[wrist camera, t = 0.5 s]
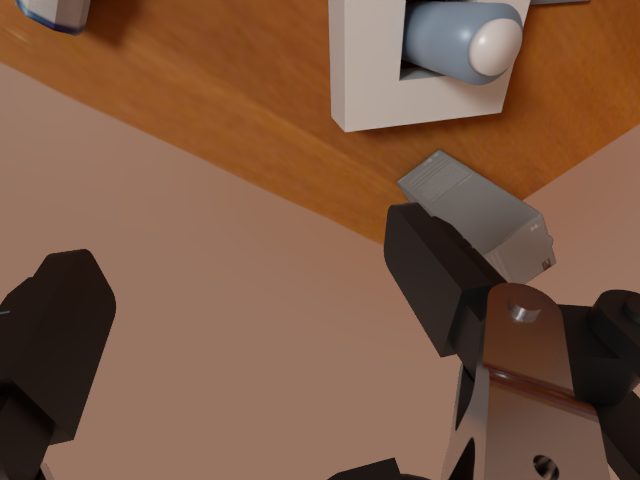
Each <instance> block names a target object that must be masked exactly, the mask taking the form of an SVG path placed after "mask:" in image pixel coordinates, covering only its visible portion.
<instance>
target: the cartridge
mask: <svg viewBox="0 0 640 480" xmlns="http://www.w3.org/2000/svg"><path fill="white" fill-rule="evenodd" d="M522 37H523V24H522V20H521V17H520V15H519V13H518V11H517V10H516V9H515V8H514V7H513V6H511V5H509V4H506V3H484V2H439V1H411V2H408V3H406V4H405V16H404V28H403V40H402V52H401V60H404V61H407V62H410V63H413V64H415V65H418V66H421V67H424V68H427V69H429V70H432V71H435V72H438V73H441V74H443V75H446V76H449V77H452V78H455V79H457V80H460V81H463V82H466V83H469V84H472V85H485V84H488V83H491V82H493V81H495V80H496V79H498V78H499V77H500V76H502V75H503V74H504V73H505V72H506V71H507V69H508V68H509V67H510V66H511V64H512V63H513V62H514V60H515V59H516V57H517V55H518V53H519V51H520V48H521V44H522Z"/></svg>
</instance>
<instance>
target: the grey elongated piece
mask: <svg viewBox="0 0 640 480" xmlns="http://www.w3.org/2000/svg"><path fill="white" fill-rule="evenodd" d="M90 1H91V0H16V1H15V4H16V5H17V6H18V8H19V9H20V10H21V11H22V12H23V13H24V14H25V15H26V16H27V17H28V18H30V19H32V20H34V21H36V22H38V23H40V24H42V25H44V26H46V27H48V28H50V29H52V30H54V31H58V32H62V33H66V34H70V35H74V36H78V35H80V34H81V33H83V32H84V31H85V26H86V21H87V16H88V11H89V6H90Z"/></svg>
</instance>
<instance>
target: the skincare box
mask: <svg viewBox="0 0 640 480" xmlns="http://www.w3.org/2000/svg"><path fill="white" fill-rule="evenodd" d="M397 183H398V185H399V186H400V188H401V190H402V191H403V193H404V195H405V196H406V198H407V199H408V201H409V202H410V203H411V202H418V203H419V204H420V205H421V206H422V207H423V208H424V209H425V210H426V211H427V213H428V214H429V215H430V216H431V217H432V216H437V217H439V218H441V219H442V220H444V221H446V222H448V223H450V224H452V225H453V226H454V227H455V228H456V229H457V230H458V231H459V232H460V233H461V235H462V236H463V238H465V239H466V240H467V241H468V242H469V243H470V244H471V245H472V248H475V249H476V250H477V251H478V252H479V253H480V254H481V255H482V256H483V257H484V258H485V259H486V260H487V261H488V262H489V263H490V264H491V265H492V266H493V267H494V268H495V269H496V271H497V272H498V273H499V274H500V275H501V276H502V277H503V278H504V279H505V280H506V281H507V282H508V283H519V284H526V283H527V282H529V281H530V280H531V279H533V278H535V277H536V276H538V275H539V274H541V273H542V272H544V271H545V270H547V269H548V268H549V267H551V266H553V265H554V264H556V259H555V256H554V252H553V250H552V245H553V238H552V237H551V236H550V235H548V232H547V228H546V225H545V221H544V218H543V215H542V213H540V212H539V211H537V210H536V209H534V208H533V207H531V206H529V205H528V204H526V203H525V202H523V201H521V200H520V199H518V198H517V197H515V196H513V195H512V194H510V193H509V192H507V191H505V190H504V189H502V188H500V187H499V186H497V185H496V184H494V183H492V182H491V181H489V180H488V179H486V178H484V177H483V176H481V175H480V174H478V173H476V172H475V171H473V170H472V169H470V168H468V167H467V166H465V165H464V164H462V163H460V162H459V161H457V160H456V159H454V158H452V157H451V156H449V155H448V154H446V153H445V152H443V151H441V150H438V151H437V152H435V153H434V154H433V155H431V156H430V157H429V158H428V159H426V160H425V161H424V162H423V163H421V164H420V165H419V166H418V167H416V168H415V169H414V170H412V171H411V172H410V173H408V174H407V175H406V176H405V177H403V178H402V179H400V180H399V181H398V182H397Z"/></svg>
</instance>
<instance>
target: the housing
mask: <svg viewBox="0 0 640 480" xmlns="http://www.w3.org/2000/svg"><path fill="white" fill-rule="evenodd" d="M445 2H484V3H506V4H509V5H511V6H513V7H514V8H515V9H516V10H517V11H518V13H519V15H520V17H521V20H522V24H523V26H524V23H525V19H526V15H527V11H528V7H529V3H530V0H445ZM405 3H406V0H328V6H329V42H330V79H331V115H332V118H333V119H334V120H335V121H336V123H337V124H338V125H339V126H340V127H341V128H342V129H343V130H344V132H351V131H359V130H367V129H375V128H383V127H391V126H399V125H407V124H415V123H423V122H431V121H438V120H446V119H454V118H462V117H470V116H478V115H486V114H494V113H501V111H502V107H503V103H504V99H505V96H506V92H507V88H508V84H509V80H510V76H511V73H512V69H513V65H514V62H513V63H512V64H511V66H510V67H509V68H508V69H507V71H506V72H505V73H504V74H503V75H502V76H500V77H499V78H498V79H496V80H495V81H493V82H491V83H488V84H485V85H472V84H469V83H466V82H463V81H460V80H457V79H455V78H452V77H449V76H446V75H443V74H441V73H438V72H435V71H432V70H429V69H427V68H424V67H414V68H404V69H400V64H401V52H402V40H403V28H404V16H405ZM514 61H515V60H514Z"/></svg>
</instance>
